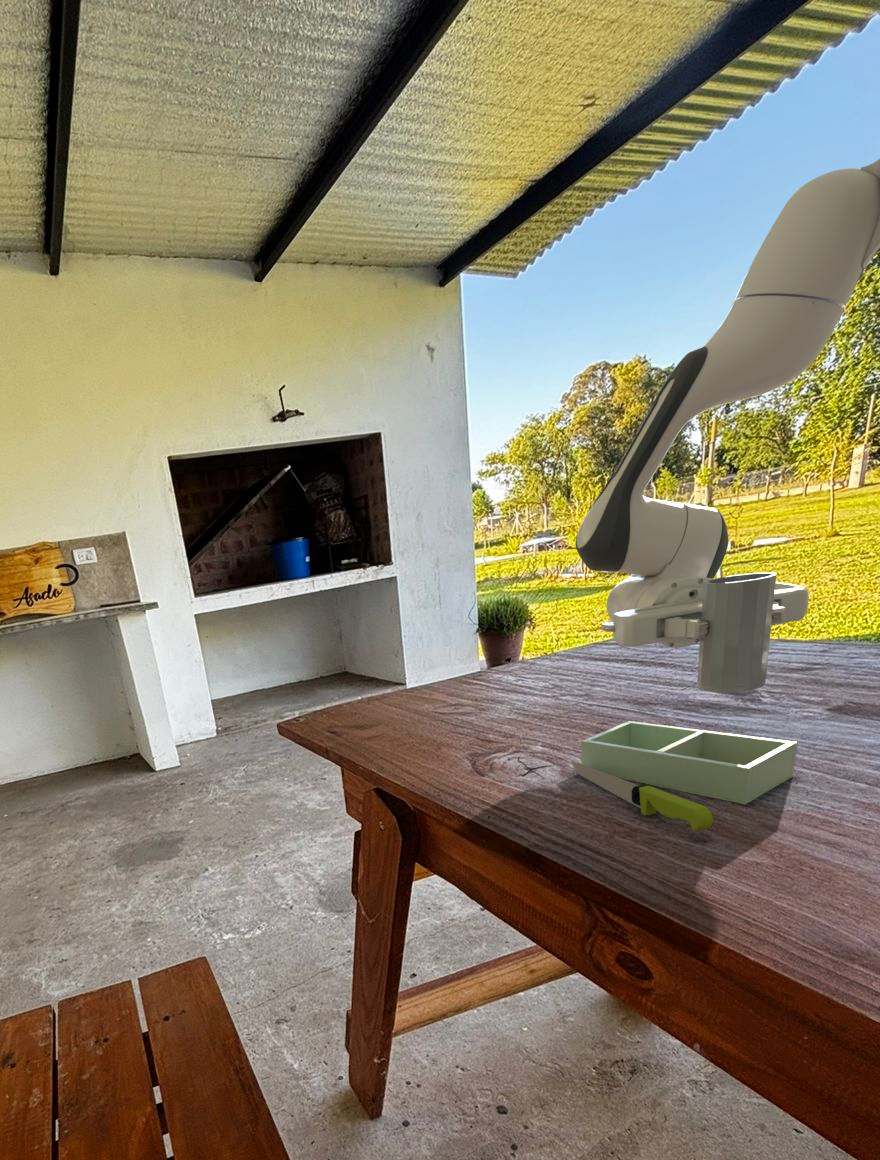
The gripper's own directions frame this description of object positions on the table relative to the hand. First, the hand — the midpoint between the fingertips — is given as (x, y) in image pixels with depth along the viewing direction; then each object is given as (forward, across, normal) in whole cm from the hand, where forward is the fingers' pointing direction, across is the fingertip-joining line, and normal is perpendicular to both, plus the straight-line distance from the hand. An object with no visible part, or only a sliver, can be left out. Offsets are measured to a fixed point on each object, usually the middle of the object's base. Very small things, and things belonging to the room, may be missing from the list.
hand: (740, 623), depth 68 cm
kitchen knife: (+12, -16, +15) cm, 25 cm away
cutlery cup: (-1, 0, +7) cm, 7 cm away
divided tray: (+6, -9, +15) cm, 18 cm away
